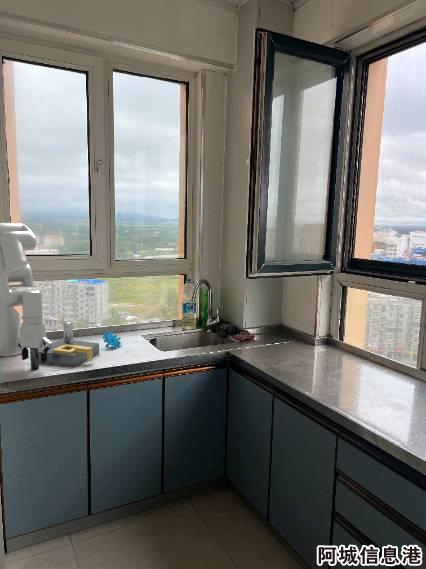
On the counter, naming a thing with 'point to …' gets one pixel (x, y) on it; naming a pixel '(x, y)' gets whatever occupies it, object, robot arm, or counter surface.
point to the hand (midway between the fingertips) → (34, 360)
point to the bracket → (75, 350)
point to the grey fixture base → (64, 358)
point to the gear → (111, 340)
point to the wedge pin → (34, 358)
